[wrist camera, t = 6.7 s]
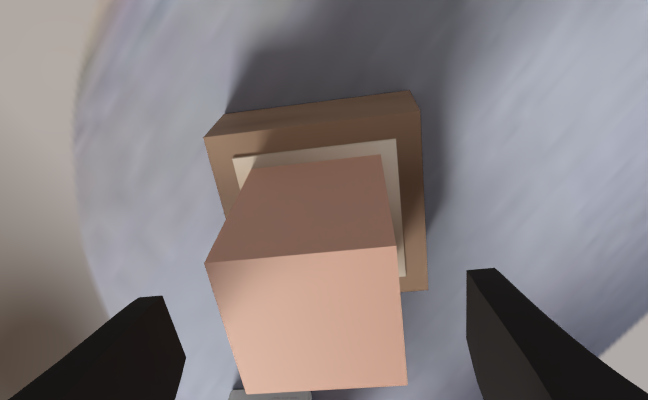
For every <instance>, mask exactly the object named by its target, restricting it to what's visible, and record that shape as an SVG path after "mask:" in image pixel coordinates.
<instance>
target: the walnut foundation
mask: <svg viewBox="0 0 648 400" xmlns="http://www.w3.org/2000/svg"><path fill="white" fill-rule="evenodd" d="M203 138H204V142H205V145H206V149H207V153H208V156H209V160H210V163H211V167H212V171H213V174H214V178H215V181H216V185H217V189H218V192H219V196H220V199H221V203H222V206H223V210H224V214H225V217H226V219H227V217H228V215H229V213H230V211H231V209H232V207H233V205H234V203H235V201H236V198H237V196H238V194H239V192H240V190H241V188H242V186H243V184H244V182H245V180H246V178H247V176H248V174H249V172H250V170H251V169H256V168H265V167H273V166H282V165H291V164H300V163H308V162H317V161H326V160H335V159H343V158H352V157H361V156H370V155H378V154H381V160H382V166H383V171H384V177H385V183H386V189H387V194H388V200H389V206H390V212H391V218H392V223H393V229H394V235H395V241H396V247H397V260H398V272H399V284H400V292H409V291H421V290H428V273H427V251H426V229H425V207H424V184H423V162H422V140H421V118H420V109H419V108H418V106H417V104H416V102H415V100H414V98H413V96H412V94H411V92H410V90H407V91H399V92H392V93H384V94H376V95H368V96H360V97H353V98H345V99H337V100H329V101H322V102H314V103H306V104H298V105H291V106H283V107H275V108H267V109H260V110H252V111H244V112H236V113H229V114H224V115H223V116H222V117H221V118H220V119H219V120H218V121H217V123H216V124H215V125H214V126H213V127H212V128H211V129H210V131H209V132H208V133H207V134H206V135H205V136H204V137H203Z"/></svg>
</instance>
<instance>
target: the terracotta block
mask: <svg viewBox="0 0 648 400" xmlns="http://www.w3.org/2000/svg"><path fill="white" fill-rule="evenodd" d="M204 264H205V268H206V271H207V274H208V277H209V280H210V283H211V286H212V289H213V292H214V296H215V299H216V302H217V305H218V308H219V311H220V314H221V317H222V320H223V324H224V327H225V330H226V333H227V336H228V339H229V342H230V345H231V348H232V352H233V355H234V358H235V361H236V364H237V367H238V370H239V373H240V376H241V380H242V383H243V386H244V389H245V392H246V394H263V393H281V392H298V391H316V390H333V389H351V388H369V387H386V386H404V385H408V382H407V369H406V357H405V345H404V333H403V321H402V308H401V296H400V284H399V272H398V260H397V247H396V241H395V235H394V229H393V223H392V218H391V212H390V206H389V200H388V194H387V189H386V183H385V177H384V171H383V166H382V160H381V154H378V155H370V156H361V157H352V158H343V159H335V160H326V161H317V162H308V163H300V164H291V165H282V166H273V167H265V168H256V169H251V170H250V172H249V174H248V176H247V178H246V180H245V182H244V184H243V186H242V188H241V190H240V192H239V194H238V196H237V198H236V201H235V203H234V205H233V207H232V209H231V211H230V213H229V215H228V217H227V219H226V221H225V223H224V225H223V227H222V229H221V231H220V233H219V235H218V237H217V239H216V241H215V243H214V245H213V247H212V249H211V251H210V253H209V255H208V257H207V259H206V261H205V263H204Z"/></svg>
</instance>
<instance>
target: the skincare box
mask: <svg viewBox="0 0 648 400" xmlns="http://www.w3.org/2000/svg"><path fill="white" fill-rule="evenodd" d="M228 400H312V395H311V391H298V392H281V393H263V394H246V392H245V389H240V390H232V391H231V392H230V395H229V399H228Z"/></svg>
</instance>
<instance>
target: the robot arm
mask: <svg viewBox="0 0 648 400" xmlns="http://www.w3.org/2000/svg"><path fill="white" fill-rule="evenodd" d="M466 339H467V343H468V347H469V351H470V355H471V359H472V363H473V367H474V371H475V375H476V379H477V382H478V385H479V388H480V390H481V393H482V396H483V399H484V400H648V393H646V392H645V391H643V390H642V389H640V388H639V387H637V386H636V385H634V384H633V383H632V382H630V381H629V380H627V379H626V378H624V377H623V376H621V375H620V374H619V373H617V372H616V371H615V370H613V369H612V368H611V367H609V366H608V365H607V364H605V363H604V362H602V361H601V360H600V359H599V358H598V357H596V356H595V355H594V354H592V353H591V352H590V351H588V350H587V349H586V348H585V347H583V346H582V345H581V344H580V343H579V342H577V341H576V340H575V339H574V338H572V337H571V336H570V335H569V334H568V333H566V332H565V331H564V330H563V329H562V328H561V327H559V326H558V325H557V324H556V323H555V322H554V321H552V320H551V319H550V318H549V317H548V316H547V315H545V314H544V313H543V312H542V311H541V310H540V309H539V308H538V307H536V306H535V305H534V304H533V303H532V302H531V301H530V300H529V299H528V298H527V297H526V296H524V295H523V294H522V293H521V292H520V291H519V290H518V289H517V288H516V287H515V286H514V285H513V284H512V283H511V282H510V281H509V280H508V279H506V278H505V277H504V276H503V275H502V274H501V273H500V272H499V271H498V270H497V269H495V268H488V269H476V270H467V307H466ZM185 360H186V356H185V353H184V351H183V348H182V346H181V343H180V340H179V338H178V335H177V333H176V330H175V327H174V325H173V322H172V320H171V317H170V314H169V312H168V309H167V307H166V304H165V301H164V299H163V296H152V297H140V298H137V299H136V300H135V301H133V302H132V303H130V304H129V305H128V306H126V307H125V308H124V309H122V310H121V311H120V312H119V313H117V314H116V315H115V316H114V317H112V318H111V319H110V320H109V321H107V322H106V323H105V324H104V325H103V326H101V327H100V328H99V329H98V330H96V331H95V332H94V333H93V334H92V335H91V336H89V337H88V338H87V339H85V340H84V341H83V342H82V343H81V344H79V345H78V346H77V347H76V348H74V349H73V350H72V351H71V352H70V353H68V354H67V355H66V356H65V357H63V358H62V359H61V360H60V361H58V362H57V363H56V364H54V365H53V366H52V367H51V368H49V369H48V370H47V371H45V372H44V373H43V374H41V375H40V376H39V377H37V378H36V379H35V380H34V381H32V382H31V383H30V384H28V385H27V386H26V387H24V388H23V389H22V390H20V391H19V392H18V393H17V394H15V395H14V396H13V397H11V398H10V399H8V400H175V398H176V394H177V391H178V387H179V383H180V380H181V376H182V372H183V368H184V364H185Z"/></svg>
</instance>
